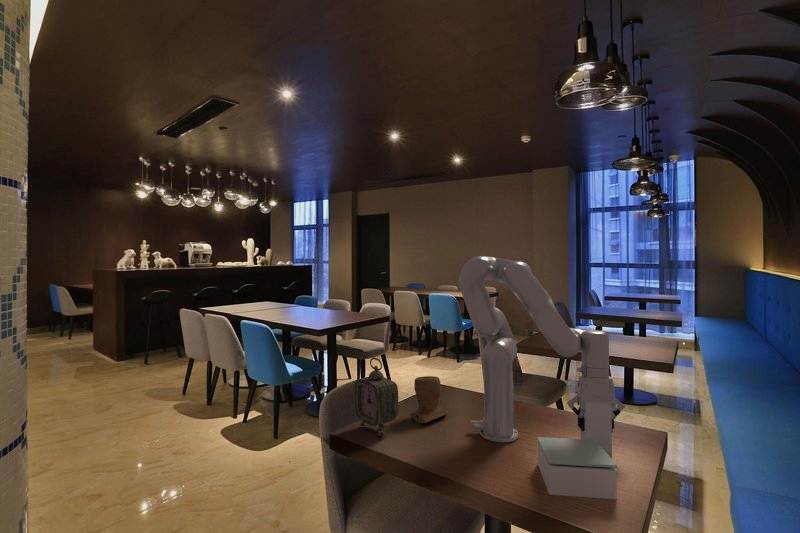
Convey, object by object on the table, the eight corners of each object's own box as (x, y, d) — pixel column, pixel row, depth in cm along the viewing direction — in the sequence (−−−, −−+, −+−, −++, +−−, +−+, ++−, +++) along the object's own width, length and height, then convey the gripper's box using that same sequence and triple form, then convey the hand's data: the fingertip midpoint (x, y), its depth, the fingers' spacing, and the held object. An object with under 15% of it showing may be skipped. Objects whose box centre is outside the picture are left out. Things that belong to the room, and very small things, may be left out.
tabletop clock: (355, 427, 146) (354, 356, 146) (376, 420, 152) (375, 352, 152) (379, 440, 135) (378, 363, 135) (400, 433, 140) (400, 359, 140)
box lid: (548, 463, 102) (548, 461, 102) (537, 439, 118) (537, 437, 118) (617, 467, 100) (616, 465, 100) (596, 442, 115) (596, 440, 115)
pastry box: (549, 494, 102) (548, 466, 102) (537, 464, 118) (537, 439, 118) (616, 499, 100) (616, 470, 100) (596, 467, 115) (596, 442, 115)
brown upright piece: (428, 408, 164) (428, 370, 164) (452, 416, 156) (452, 376, 156) (401, 418, 153) (401, 378, 153) (425, 427, 145) (425, 384, 145)
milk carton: (612, 457, 122) (611, 392, 122) (586, 455, 123) (585, 391, 123) (605, 446, 129) (604, 385, 129) (580, 444, 130) (580, 384, 130)
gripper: (568, 374, 123) (568, 433, 123) (631, 375, 121) (631, 436, 121) (562, 367, 131) (562, 424, 131) (621, 369, 128) (621, 426, 128)
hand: (595, 429), depth 126 cm, fingers closed on milk carton, 7 cm apart
